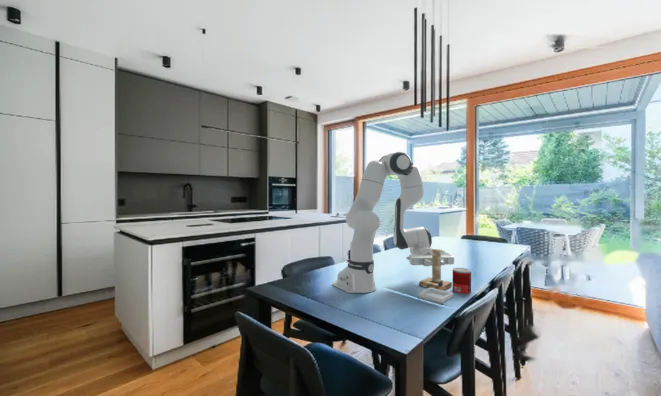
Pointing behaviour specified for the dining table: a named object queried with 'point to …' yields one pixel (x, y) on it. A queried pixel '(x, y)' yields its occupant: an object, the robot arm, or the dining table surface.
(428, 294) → the tray
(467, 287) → the canned food
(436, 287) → the socket block
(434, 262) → the dowel
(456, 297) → the dining table surface
